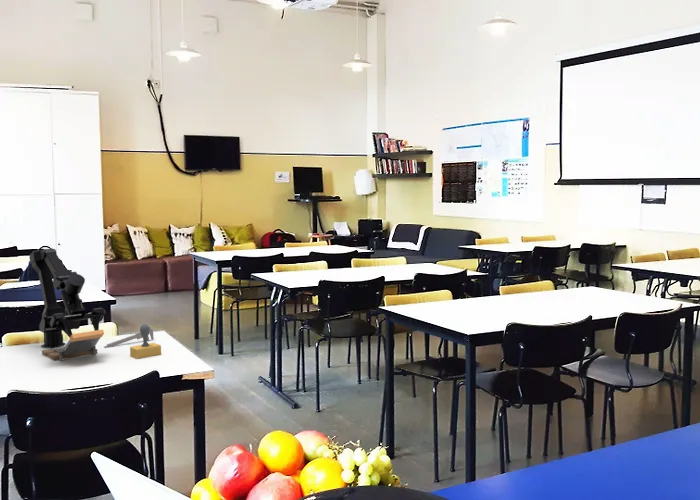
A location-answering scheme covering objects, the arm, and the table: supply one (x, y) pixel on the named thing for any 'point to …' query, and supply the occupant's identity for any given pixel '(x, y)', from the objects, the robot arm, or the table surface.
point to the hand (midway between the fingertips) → (85, 336)
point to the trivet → (57, 355)
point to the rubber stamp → (145, 346)
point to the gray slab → (82, 342)
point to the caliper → (130, 338)
